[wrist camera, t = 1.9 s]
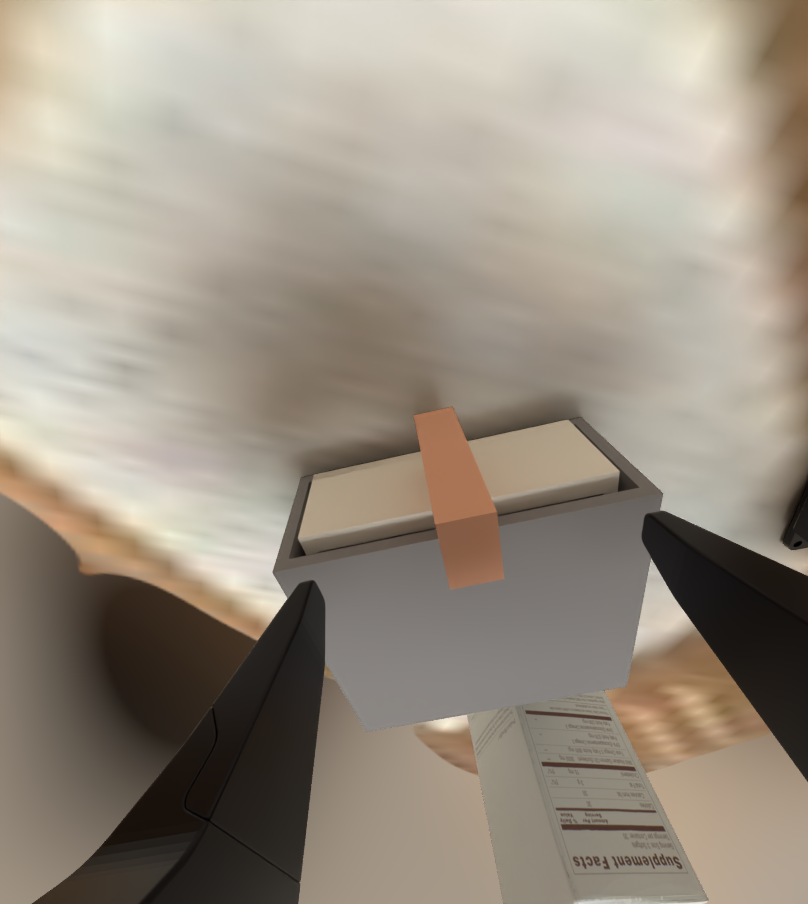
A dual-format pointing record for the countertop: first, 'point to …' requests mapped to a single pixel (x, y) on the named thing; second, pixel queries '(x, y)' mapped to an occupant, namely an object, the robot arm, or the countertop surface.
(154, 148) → the countertop surface
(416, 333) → the countertop surface
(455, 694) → the mailer sleeve
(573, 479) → the tray
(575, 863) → the supplement box
